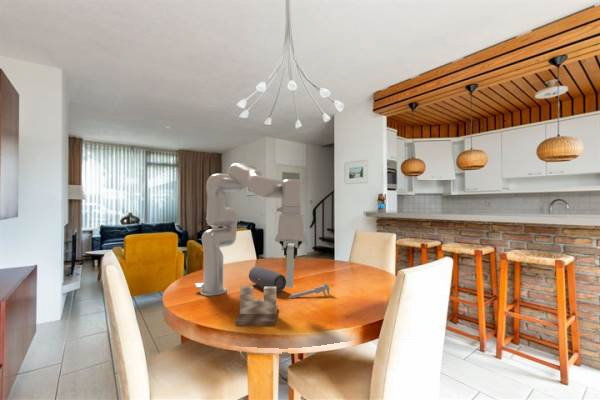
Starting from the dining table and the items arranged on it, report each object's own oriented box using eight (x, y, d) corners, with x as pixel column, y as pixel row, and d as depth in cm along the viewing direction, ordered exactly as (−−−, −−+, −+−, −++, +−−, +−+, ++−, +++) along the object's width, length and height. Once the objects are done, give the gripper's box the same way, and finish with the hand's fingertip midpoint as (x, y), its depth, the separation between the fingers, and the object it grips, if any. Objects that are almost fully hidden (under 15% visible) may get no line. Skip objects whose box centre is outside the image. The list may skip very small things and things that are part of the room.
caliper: (328, 295, 138) (328, 282, 138) (329, 295, 137) (329, 282, 137) (287, 298, 133) (288, 284, 133) (288, 298, 132) (288, 285, 132)
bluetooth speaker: (247, 285, 152) (247, 267, 152) (261, 282, 159) (261, 264, 159) (272, 296, 135) (272, 275, 135) (287, 292, 142) (287, 272, 142)
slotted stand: (236, 325, 103) (236, 294, 103) (244, 308, 119) (244, 281, 119) (274, 325, 103) (274, 294, 103) (277, 308, 119) (277, 281, 119)
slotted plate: (292, 287, 103) (293, 249, 103) (286, 287, 103) (286, 249, 103) (293, 276, 117) (294, 243, 117) (287, 276, 117) (288, 243, 117)
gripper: (269, 210, 107) (269, 259, 107) (312, 211, 107) (311, 259, 107) (271, 210, 114) (271, 255, 114) (311, 210, 114) (310, 255, 114)
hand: (290, 257), depth 110 cm, fingers closed on slotted plate, 2 cm apart
